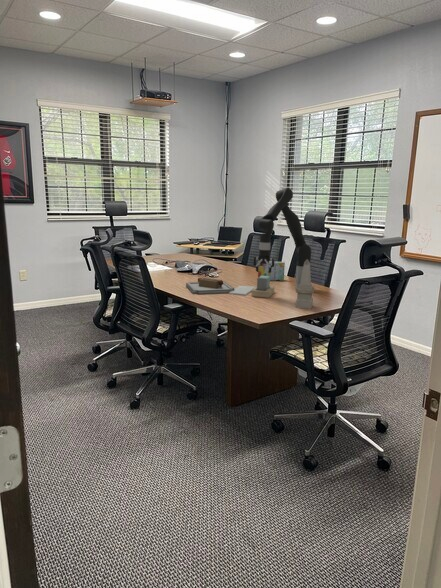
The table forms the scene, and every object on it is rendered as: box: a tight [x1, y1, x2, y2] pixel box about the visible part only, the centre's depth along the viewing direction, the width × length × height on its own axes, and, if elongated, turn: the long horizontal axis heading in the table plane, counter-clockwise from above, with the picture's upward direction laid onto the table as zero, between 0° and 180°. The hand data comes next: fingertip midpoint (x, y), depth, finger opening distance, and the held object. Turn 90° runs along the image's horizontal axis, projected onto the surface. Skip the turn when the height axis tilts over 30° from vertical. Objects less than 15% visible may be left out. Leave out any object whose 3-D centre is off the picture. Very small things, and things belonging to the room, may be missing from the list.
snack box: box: [257, 260, 286, 282], centre depth 354 cm, size 21×6×15 cm, turn 84°
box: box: [256, 276, 271, 291], centre depth 303 cm, size 6×12×12 cm, turn 161°
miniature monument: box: [295, 259, 315, 310], centre depth 270 cm, size 10×10×30 cm
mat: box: [228, 285, 256, 296], centre depth 313 cm, size 12×26×1 cm, turn 161°
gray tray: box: [185, 277, 235, 295], centre depth 316 cm, size 30×30×8 cm
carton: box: [250, 285, 276, 299], centre depth 304 cm, size 12×21×4 cm, turn 161°
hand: (263, 272), depth 301 cm, fingers open, 8 cm apart
